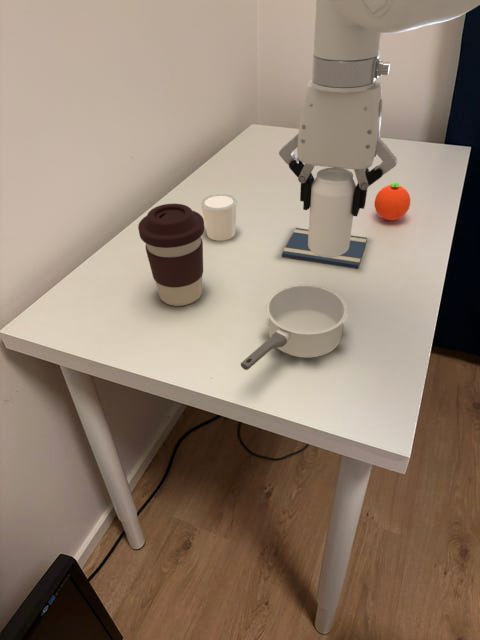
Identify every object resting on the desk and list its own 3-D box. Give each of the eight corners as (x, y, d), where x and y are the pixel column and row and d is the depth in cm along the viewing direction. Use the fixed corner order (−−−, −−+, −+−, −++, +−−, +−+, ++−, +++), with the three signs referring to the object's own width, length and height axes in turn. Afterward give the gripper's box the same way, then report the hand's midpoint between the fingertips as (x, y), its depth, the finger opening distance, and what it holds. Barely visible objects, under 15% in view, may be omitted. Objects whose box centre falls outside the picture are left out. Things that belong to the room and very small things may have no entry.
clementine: (371, 207, 103) (376, 175, 99) (405, 209, 102) (412, 176, 98) (372, 225, 97) (377, 192, 93) (408, 227, 96) (415, 193, 92)
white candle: (229, 222, 101) (227, 190, 96) (244, 236, 96) (243, 204, 91) (198, 230, 98) (195, 198, 94) (212, 245, 93) (209, 212, 89)
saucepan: (212, 376, 67) (209, 346, 63) (293, 304, 78) (294, 275, 75) (281, 415, 61) (282, 385, 57) (357, 331, 73) (362, 301, 69)
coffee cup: (220, 299, 80) (214, 217, 70) (165, 319, 76) (150, 236, 67) (195, 271, 87) (186, 193, 77) (143, 288, 83) (127, 208, 74)
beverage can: (356, 256, 72) (366, 179, 64) (317, 264, 71) (323, 186, 63) (337, 236, 77) (345, 162, 69) (301, 244, 75) (304, 169, 68)
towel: (366, 241, 93) (367, 237, 92) (358, 268, 85) (358, 264, 85) (295, 231, 97) (295, 227, 96) (281, 257, 89) (281, 252, 89)
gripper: (421, 67, 58) (396, 204, 70) (283, 62, 63) (280, 191, 75) (417, 83, 53) (390, 229, 64) (265, 76, 58) (266, 213, 69)
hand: (331, 207), depth 69 cm, fingers closed on beverage can, 6 cm apart
